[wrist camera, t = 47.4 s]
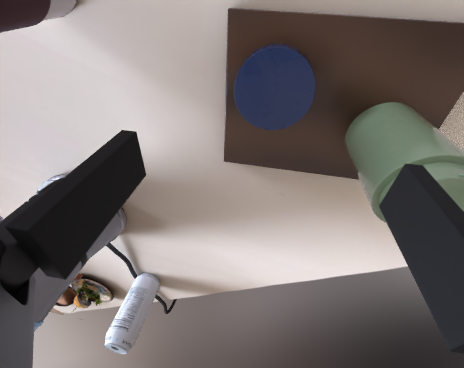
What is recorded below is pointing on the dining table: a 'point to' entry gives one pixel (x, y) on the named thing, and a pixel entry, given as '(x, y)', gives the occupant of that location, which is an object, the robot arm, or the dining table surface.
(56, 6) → the coffee cup
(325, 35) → the board
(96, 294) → the burger
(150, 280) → the energy drink can
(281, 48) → the lid
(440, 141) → the jar
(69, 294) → the sunglasses case
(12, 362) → the robot arm
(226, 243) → the dining table surface
